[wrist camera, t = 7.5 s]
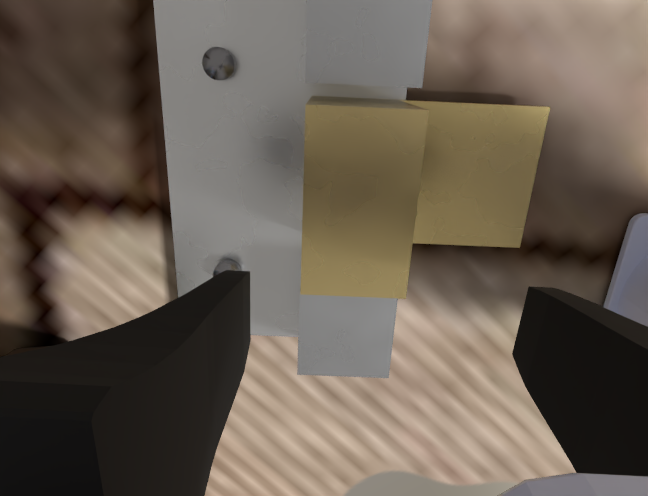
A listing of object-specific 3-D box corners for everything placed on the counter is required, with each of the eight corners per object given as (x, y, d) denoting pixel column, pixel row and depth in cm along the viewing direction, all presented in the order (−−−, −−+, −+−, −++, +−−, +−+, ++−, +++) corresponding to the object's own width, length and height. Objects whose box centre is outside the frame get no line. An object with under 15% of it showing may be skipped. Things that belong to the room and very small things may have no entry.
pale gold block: (543, 106, 18) (639, 119, 13) (514, 242, 20) (585, 305, 15) (311, 95, 18) (305, 104, 13) (307, 234, 20) (300, 294, 15)
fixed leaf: (415, -24, 17) (438, -49, 14) (378, 331, 23) (388, 378, 20) (157, -37, 17) (113, -66, 14) (185, 323, 23) (160, 369, 19)
